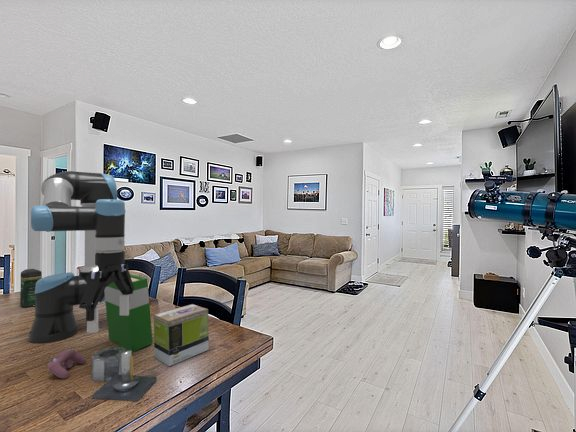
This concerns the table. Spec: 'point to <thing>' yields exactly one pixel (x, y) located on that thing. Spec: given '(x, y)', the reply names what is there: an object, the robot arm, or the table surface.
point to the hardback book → (129, 316)
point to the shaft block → (125, 383)
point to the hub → (106, 364)
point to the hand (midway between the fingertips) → (109, 322)
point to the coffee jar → (29, 286)
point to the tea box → (180, 333)
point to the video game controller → (67, 359)
